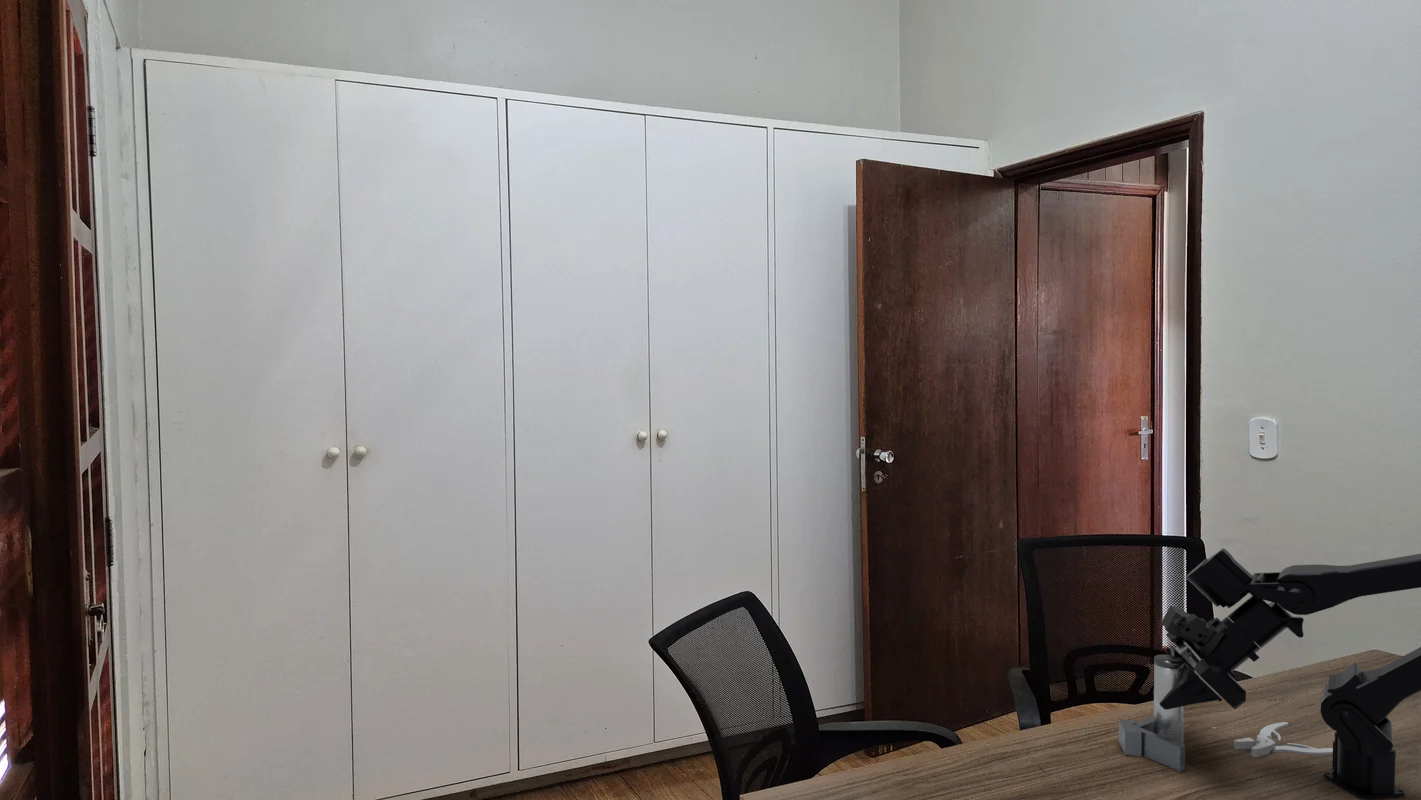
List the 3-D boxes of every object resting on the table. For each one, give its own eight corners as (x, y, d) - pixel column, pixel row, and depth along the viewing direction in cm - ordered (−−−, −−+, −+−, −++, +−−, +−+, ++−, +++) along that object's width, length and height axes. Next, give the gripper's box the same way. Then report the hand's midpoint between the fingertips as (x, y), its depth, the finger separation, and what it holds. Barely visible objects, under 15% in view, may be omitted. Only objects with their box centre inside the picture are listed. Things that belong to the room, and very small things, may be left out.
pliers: (1349, 742, 126) (1276, 759, 121) (1349, 752, 126) (1276, 770, 121) (1284, 715, 135) (1214, 730, 130) (1284, 725, 135) (1213, 740, 130)
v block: (1165, 736, 131) (1165, 714, 131) (1186, 772, 120) (1187, 747, 119) (1113, 731, 133) (1114, 709, 133) (1130, 766, 121) (1130, 742, 121)
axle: (1188, 750, 124) (1189, 662, 123) (1164, 752, 123) (1165, 664, 123) (1172, 739, 128) (1172, 654, 127) (1148, 741, 127) (1148, 655, 126)
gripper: (1181, 575, 132) (1104, 640, 136) (1220, 609, 114) (1130, 683, 118) (1238, 628, 131) (1158, 693, 134) (1286, 671, 113) (1193, 745, 116)
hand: (1158, 701), depth 125 cm, fingers closed on axle, 4 cm apart
